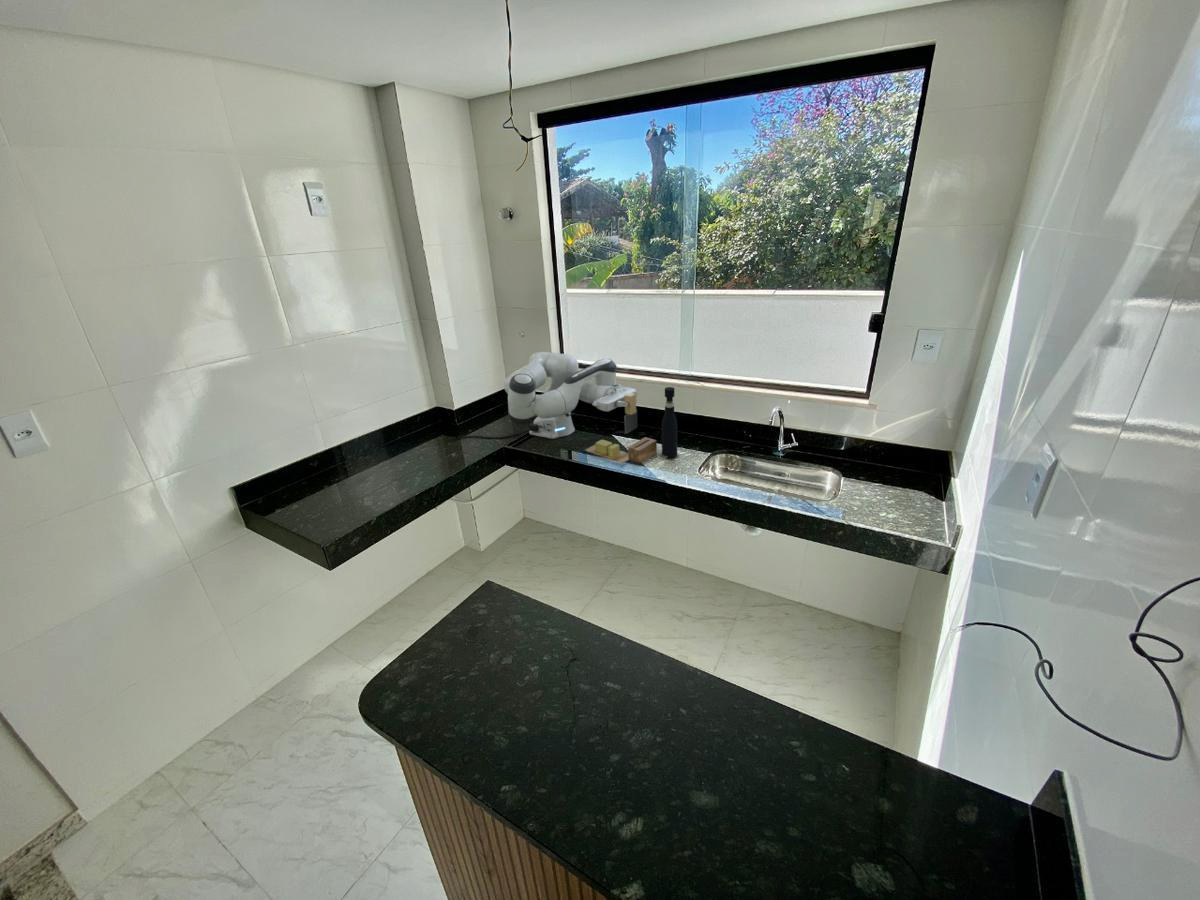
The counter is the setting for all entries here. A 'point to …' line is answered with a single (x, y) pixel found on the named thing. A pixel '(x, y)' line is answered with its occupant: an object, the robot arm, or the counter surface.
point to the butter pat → (614, 450)
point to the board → (619, 457)
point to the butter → (603, 446)
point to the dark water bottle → (669, 427)
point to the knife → (630, 413)
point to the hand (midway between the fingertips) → (631, 402)
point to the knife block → (642, 450)
